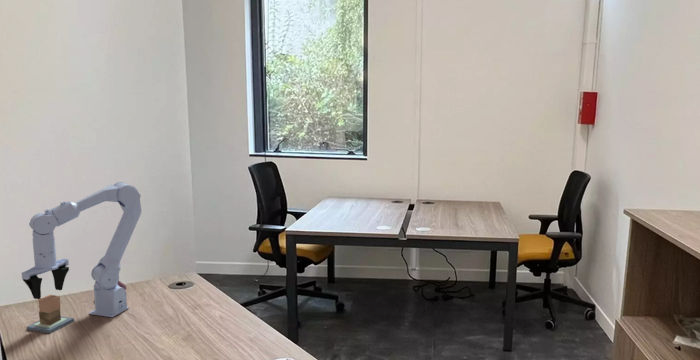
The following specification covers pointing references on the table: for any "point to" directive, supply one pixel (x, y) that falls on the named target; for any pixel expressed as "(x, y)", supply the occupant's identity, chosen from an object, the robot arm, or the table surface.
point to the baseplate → (50, 328)
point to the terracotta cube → (49, 303)
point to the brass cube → (50, 317)
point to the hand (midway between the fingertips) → (48, 293)
